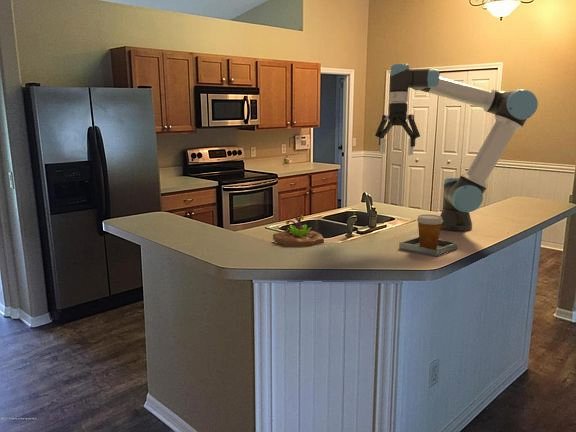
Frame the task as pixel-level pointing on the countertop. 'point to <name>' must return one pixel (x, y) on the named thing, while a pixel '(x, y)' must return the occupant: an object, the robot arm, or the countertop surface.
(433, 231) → the disposable coffee cup
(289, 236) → the plant
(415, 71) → the robot arm
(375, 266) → the countertop surface
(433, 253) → the grey square tray
